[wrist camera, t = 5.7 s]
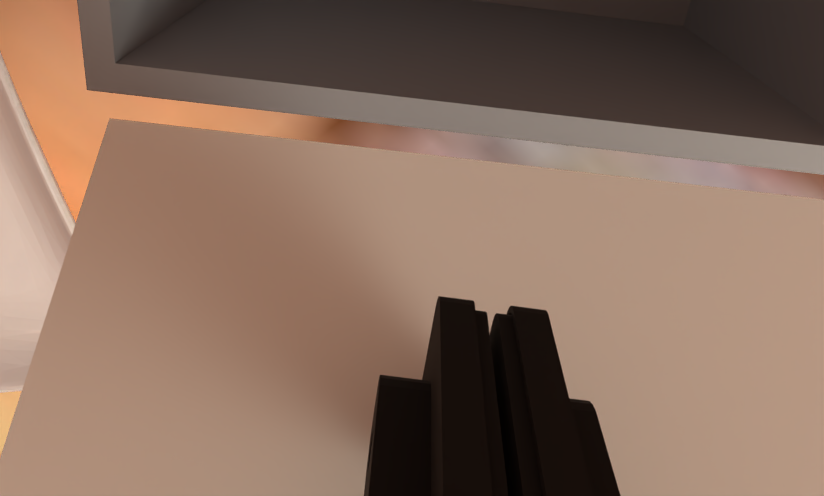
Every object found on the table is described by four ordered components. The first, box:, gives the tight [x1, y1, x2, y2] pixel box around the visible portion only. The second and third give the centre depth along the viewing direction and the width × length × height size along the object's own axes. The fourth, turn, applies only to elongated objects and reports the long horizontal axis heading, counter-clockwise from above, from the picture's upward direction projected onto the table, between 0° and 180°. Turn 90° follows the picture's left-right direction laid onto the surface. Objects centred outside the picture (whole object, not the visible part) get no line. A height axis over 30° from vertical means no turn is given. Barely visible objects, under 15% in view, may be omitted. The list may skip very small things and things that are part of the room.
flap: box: [0, 118, 824, 496], centre depth 13 cm, size 15×8×1 cm
